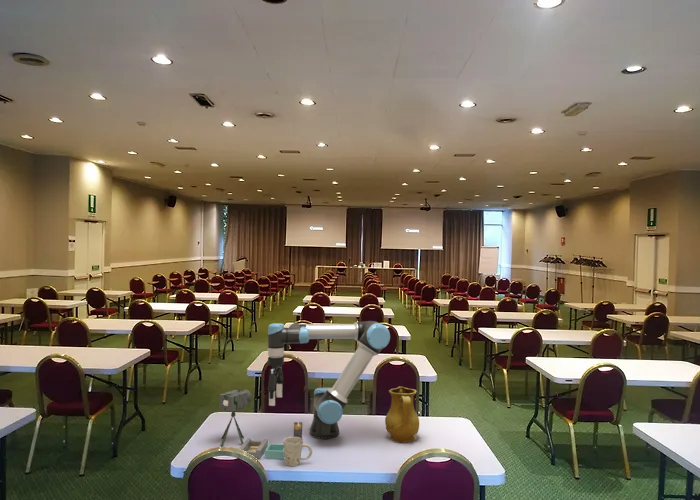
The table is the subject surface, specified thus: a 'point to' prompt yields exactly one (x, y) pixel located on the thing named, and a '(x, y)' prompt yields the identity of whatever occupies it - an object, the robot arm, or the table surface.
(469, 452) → the table surface
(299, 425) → the aa cell
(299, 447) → the mug
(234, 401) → the camera
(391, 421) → the pitcher
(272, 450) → the tray
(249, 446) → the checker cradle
